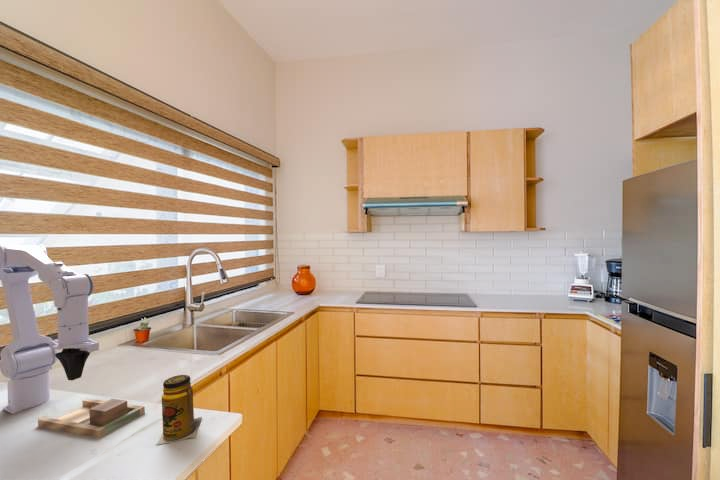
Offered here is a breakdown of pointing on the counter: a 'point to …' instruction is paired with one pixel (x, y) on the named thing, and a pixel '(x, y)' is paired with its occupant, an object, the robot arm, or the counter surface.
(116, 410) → the walnut block
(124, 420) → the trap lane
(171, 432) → the condiment
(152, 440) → the counter surface
